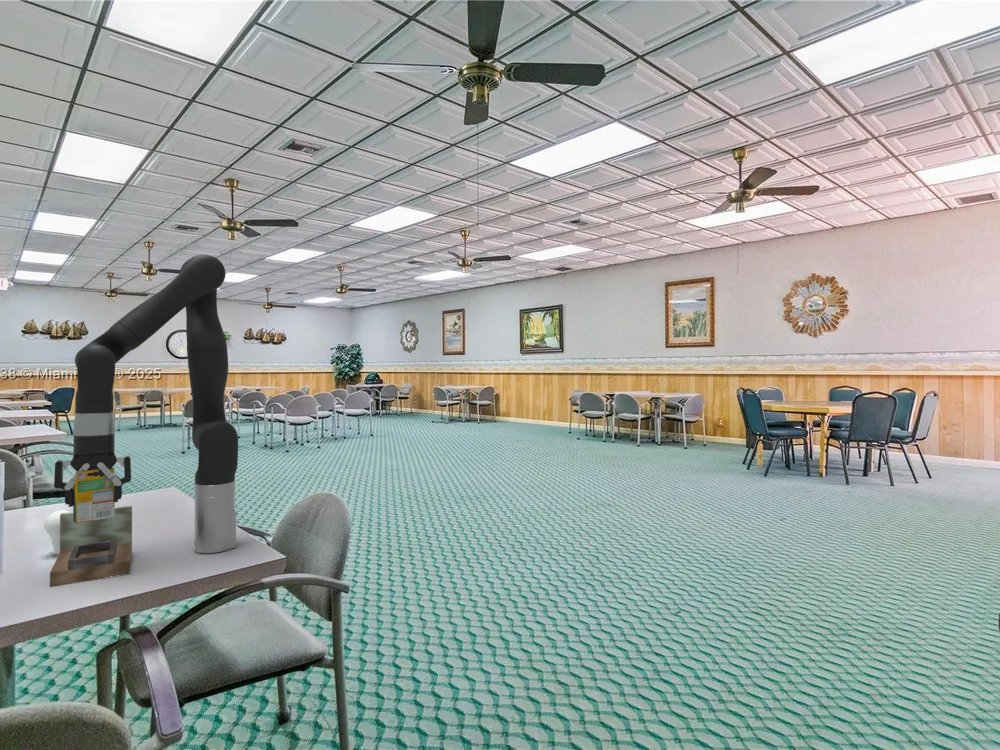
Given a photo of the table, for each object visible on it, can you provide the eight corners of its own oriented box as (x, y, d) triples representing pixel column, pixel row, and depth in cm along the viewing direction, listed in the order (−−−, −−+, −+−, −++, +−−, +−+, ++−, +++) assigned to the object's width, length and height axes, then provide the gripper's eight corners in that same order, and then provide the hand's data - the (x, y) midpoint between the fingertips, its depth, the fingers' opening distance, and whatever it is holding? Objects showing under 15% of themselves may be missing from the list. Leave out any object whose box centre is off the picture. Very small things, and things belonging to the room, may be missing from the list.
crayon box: (111, 515, 128) (111, 465, 128) (115, 517, 126) (115, 467, 126) (72, 521, 123) (72, 470, 122) (75, 524, 121) (76, 471, 120)
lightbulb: (65, 549, 139) (66, 506, 139) (81, 552, 137) (81, 509, 137) (38, 557, 133) (38, 512, 133) (54, 560, 131) (54, 514, 131)
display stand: (131, 553, 136) (132, 505, 136) (129, 573, 123) (129, 521, 123) (60, 563, 129) (60, 513, 129) (49, 586, 115) (50, 530, 115)
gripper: (132, 429, 131) (132, 497, 131) (56, 432, 123) (56, 504, 124) (131, 432, 125) (131, 503, 125) (51, 435, 117) (51, 511, 117)
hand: (93, 503), depth 124 cm, fingers closed on crayon box, 8 cm apart
